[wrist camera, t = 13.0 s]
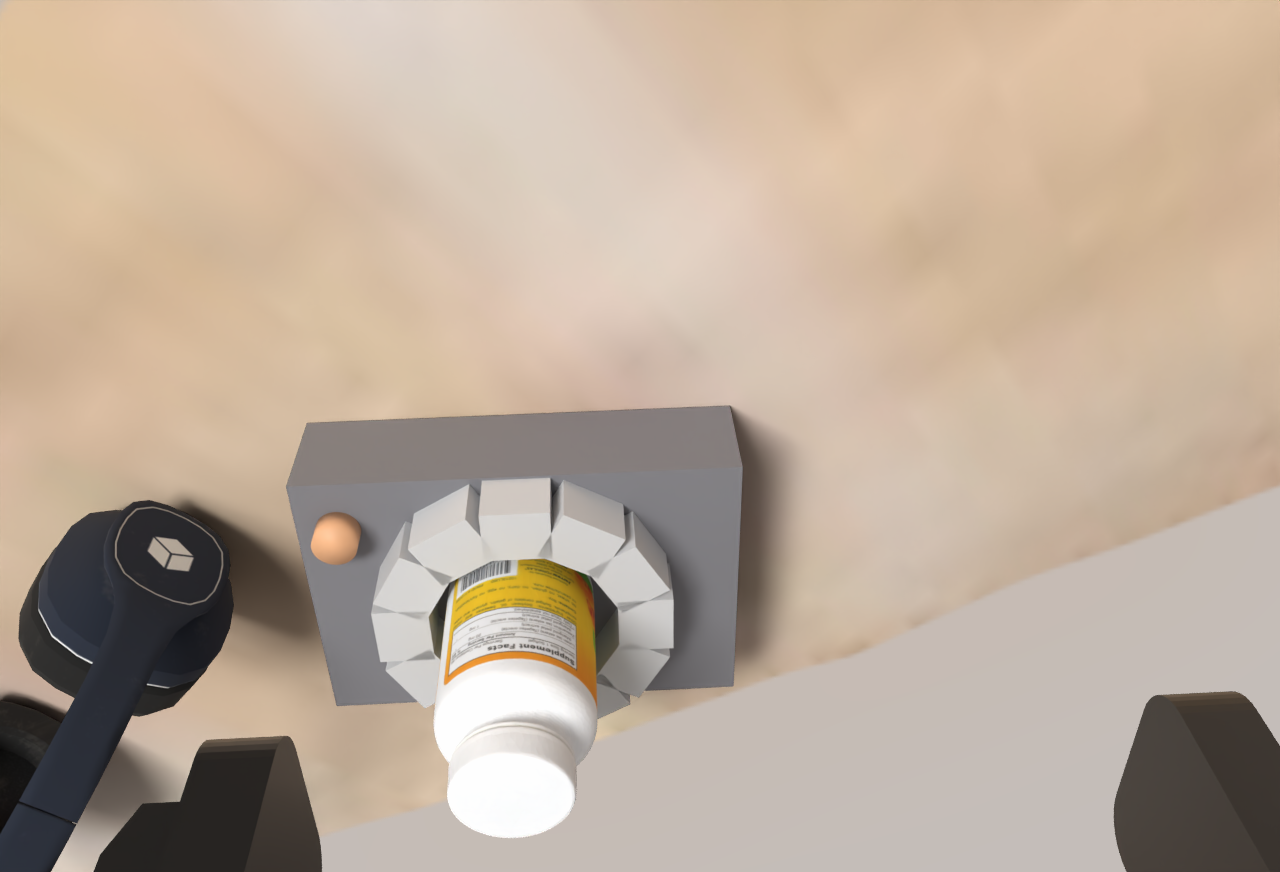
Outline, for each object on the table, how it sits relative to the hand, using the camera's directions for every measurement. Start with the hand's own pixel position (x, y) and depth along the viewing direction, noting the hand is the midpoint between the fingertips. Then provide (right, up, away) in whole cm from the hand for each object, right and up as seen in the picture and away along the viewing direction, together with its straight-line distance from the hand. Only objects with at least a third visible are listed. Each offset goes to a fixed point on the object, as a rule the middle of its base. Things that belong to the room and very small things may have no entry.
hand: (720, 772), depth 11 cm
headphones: (-24, -5, +39) cm, 46 cm away
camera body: (-5, 0, +37) cm, 37 cm away
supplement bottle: (-5, -2, +33) cm, 34 cm away
